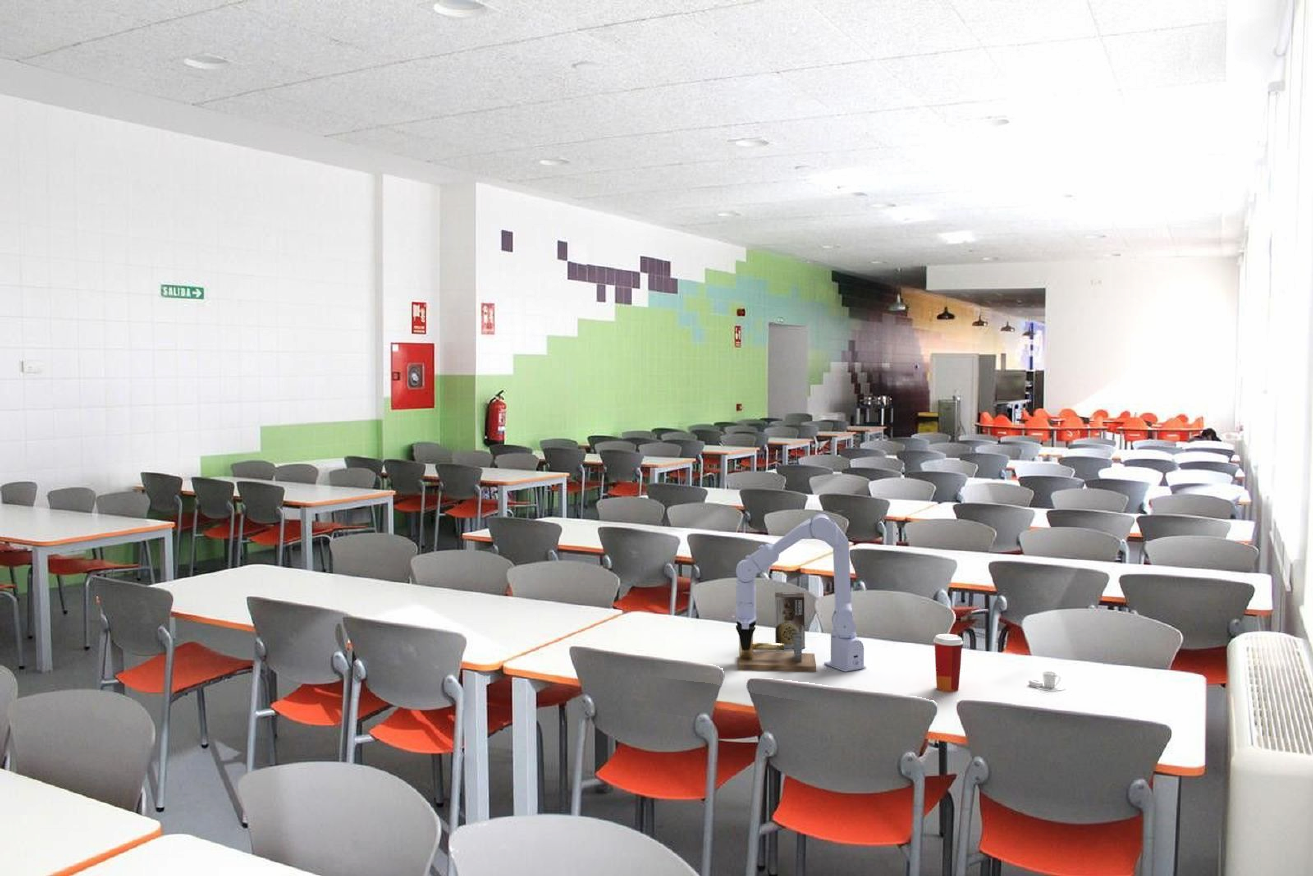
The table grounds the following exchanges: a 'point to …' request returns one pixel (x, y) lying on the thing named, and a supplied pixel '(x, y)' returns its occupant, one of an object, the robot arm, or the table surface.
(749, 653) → the gold cylinder with rod
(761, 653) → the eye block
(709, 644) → the table surface
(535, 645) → the table surface
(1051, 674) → the teacup and saucer
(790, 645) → the coffee box
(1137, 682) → the table surface
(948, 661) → the paper cup
